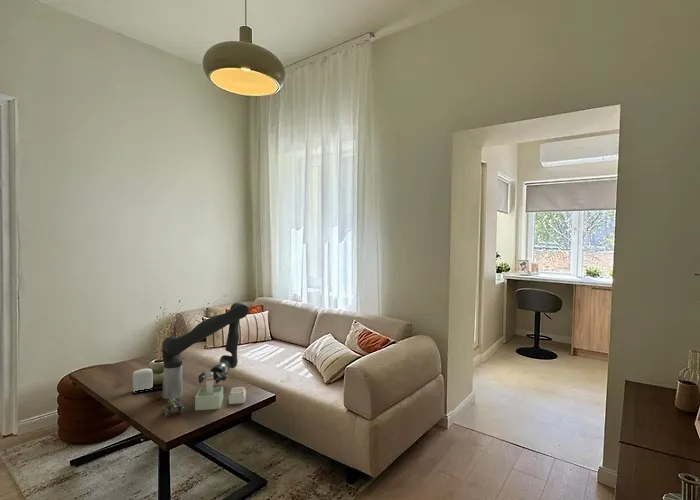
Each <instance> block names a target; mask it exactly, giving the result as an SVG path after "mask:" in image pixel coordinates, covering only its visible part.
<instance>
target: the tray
mask: <svg viewBox="0 0 700 500" xmlns="http://www.w3.org/2000/svg"><path fill="white" fill-rule="evenodd" d="M223 400H224V386H213V395H210V396H206V387H199V389H198V391H197V393H196V395H195V396H194V411H206V410H219V409H221V406H222V403H223Z"/></svg>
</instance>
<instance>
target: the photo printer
mask: <svg viewBox="0 0 700 500" xmlns="http://www.w3.org/2000/svg"><path fill="white" fill-rule="evenodd" d="M153 376H154V371H153V369H152V368H140V369H137V370H134V372H133V373H132V392H133V393H136V392H135V391H138V390H144V389H150V388H152V387H153V385H154V381H153V380H154V377H153ZM150 390H151V389H150Z"/></svg>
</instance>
